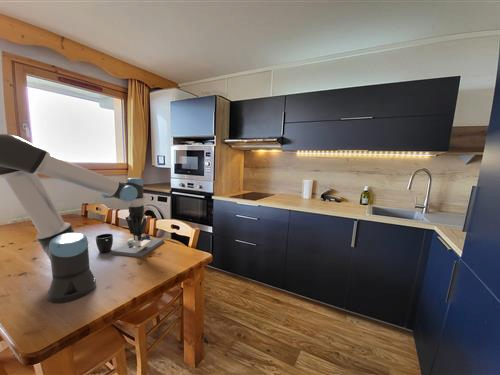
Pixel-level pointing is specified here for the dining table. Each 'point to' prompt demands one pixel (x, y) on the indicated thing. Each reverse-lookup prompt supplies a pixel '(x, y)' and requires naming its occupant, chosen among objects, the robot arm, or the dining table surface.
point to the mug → (104, 242)
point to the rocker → (142, 245)
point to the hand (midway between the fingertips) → (138, 245)
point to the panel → (128, 250)
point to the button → (130, 241)
